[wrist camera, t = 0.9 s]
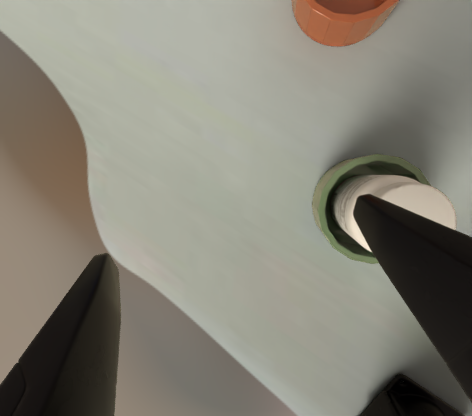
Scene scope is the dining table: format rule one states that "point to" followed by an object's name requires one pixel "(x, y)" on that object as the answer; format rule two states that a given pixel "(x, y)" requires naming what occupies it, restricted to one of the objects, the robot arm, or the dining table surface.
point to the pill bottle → (394, 191)
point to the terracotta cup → (341, 19)
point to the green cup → (340, 173)
